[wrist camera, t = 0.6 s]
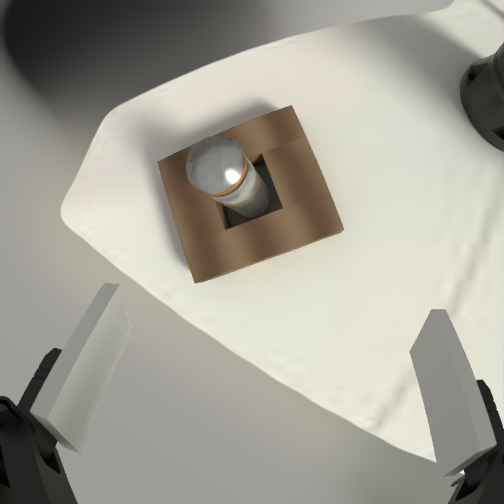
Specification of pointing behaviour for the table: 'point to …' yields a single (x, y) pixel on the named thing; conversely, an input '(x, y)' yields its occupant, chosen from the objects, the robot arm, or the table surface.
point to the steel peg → (227, 176)
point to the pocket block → (265, 227)
